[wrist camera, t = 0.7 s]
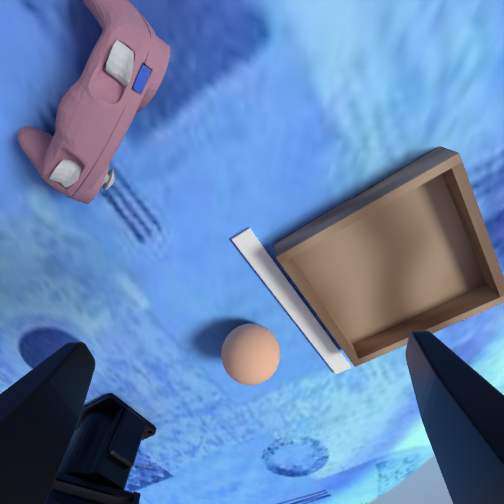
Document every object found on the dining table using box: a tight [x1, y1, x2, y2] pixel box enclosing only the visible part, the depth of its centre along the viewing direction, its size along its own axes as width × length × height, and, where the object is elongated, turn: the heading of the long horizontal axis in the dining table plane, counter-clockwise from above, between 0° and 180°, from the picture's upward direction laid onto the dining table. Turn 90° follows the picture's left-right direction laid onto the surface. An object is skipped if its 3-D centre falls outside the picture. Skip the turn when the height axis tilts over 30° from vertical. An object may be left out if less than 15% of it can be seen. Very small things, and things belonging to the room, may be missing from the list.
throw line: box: [232, 228, 351, 374], centre depth 26 cm, size 2×16×1 cm, turn 34°
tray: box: [274, 147, 504, 366], centre depth 23 cm, size 12×12×2 cm
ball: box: [221, 324, 280, 385], centre depth 25 cm, size 4×4×4 cm
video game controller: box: [18, 0, 170, 204], centre depth 16 cm, size 10×5×7 cm, turn 143°
